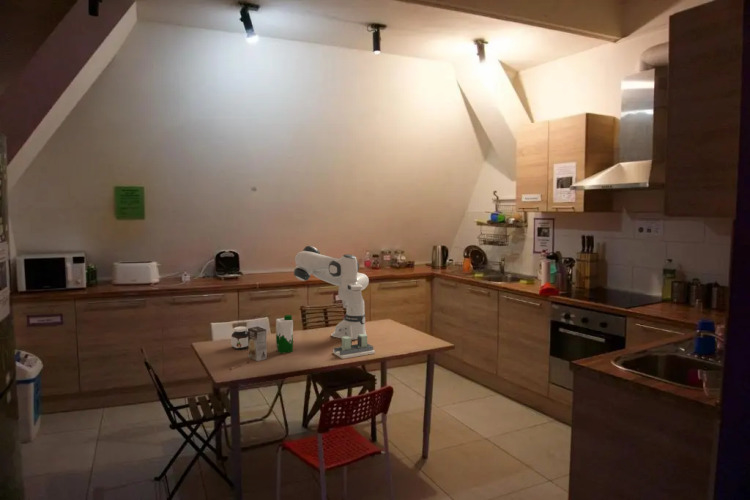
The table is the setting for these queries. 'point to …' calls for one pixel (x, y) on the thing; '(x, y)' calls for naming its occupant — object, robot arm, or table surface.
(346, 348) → the block
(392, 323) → the table surface
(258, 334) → the coffee box
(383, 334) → the table surface
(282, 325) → the milk carton
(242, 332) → the spread jar
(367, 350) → the board
